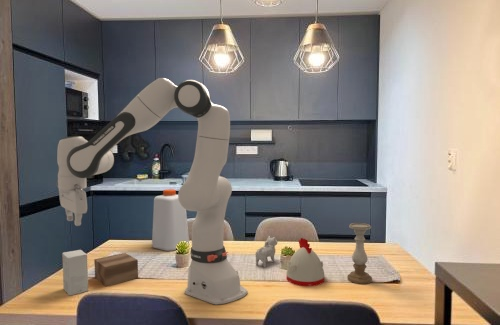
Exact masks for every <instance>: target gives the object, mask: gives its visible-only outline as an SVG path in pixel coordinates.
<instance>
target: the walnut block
mask: <svg viewBox="0 0 500 325" xmlns="http://www.w3.org/2000/svg"><path fill="white" fill-rule="evenodd" d="M93 262H94V263H93V264H94V278H95V279H96V280H98V281H99V282H100V283H101V284H103V285H104V287H110V286H112V285H117V284H121V283H125V282H128V281H133V280H136V279H137V280H138V279H139V265H138V264H139V263H138V259H137V258H135V257H133V256H132V255H129V254H128V253H126V252H122V253H118V254H113V255H109V256H103V257H99V258H95V259H94V260H93Z"/></svg>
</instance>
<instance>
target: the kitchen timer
mask: <svg viewBox="0 0 500 325" xmlns="http://www.w3.org/2000/svg"><path fill="white" fill-rule="evenodd" d="M308 240H309V239H306V238H303V237H300V239H299V240H298V245H299V249H297V250H296V251H295V252H294V253H293V255H292V256H291V257H290V260H287V263H286V264H287V266H286V281H287V282H288V283H290V284H292V285H294V286H295V285H296V286H300V287H301V286H302V287H316V286H319V285H321V284H324V282H325V272H324V268H323V267H324V262H323V260H320V257H319V256H318V254H317V253H316V252H315V251H314V250H313V248H312V247H311V246H310V245H311V244H310V243H308Z"/></svg>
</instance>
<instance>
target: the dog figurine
mask: <svg viewBox="0 0 500 325" xmlns="http://www.w3.org/2000/svg"><path fill="white" fill-rule="evenodd" d="M277 245H278V240H277V238H276V237H275V236H273V237H271V235H268V237H267V238H266V241H265V242H264V245H263V247H262V246H261V247H259V249H257V250H256V251H255V266H259V261H261V262H262V263H263V264H262V266H263V268H266V267H267V262H268V258H269V257H270V259H271V262H272V263H273V264H274V263H275V264H276V260H275V254H276V246H277Z"/></svg>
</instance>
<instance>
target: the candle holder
mask: <svg viewBox="0 0 500 325" xmlns="http://www.w3.org/2000/svg"><path fill="white" fill-rule="evenodd" d="M348 226H349V228H350V229H351V230H353V232H354V233H355V235H356V236H355V237H354V241H355V248H354V252H353V254H352V256H351V257H352V258H351V259H352V261H353V265H352V266H353V268H354V270H353V271H351V272H350V273H349V274H347V280H348V281H349V282H350V283H354V284H359V285H367V284H370V283H372V282H373V277H372V275H370V274H369V273H368V272H366V269H367V267H368V266H367V265H366V264H367V262H368V259H369V258H368V255H367V252H366V251H365V250H366V249H365V241H366V238H365V234H366V232H367V231H369V230H371V228H372V226H371V225H370V224H368V223H363V222H362V223H361V222H353V223H350V224H349V225H348Z"/></svg>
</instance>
